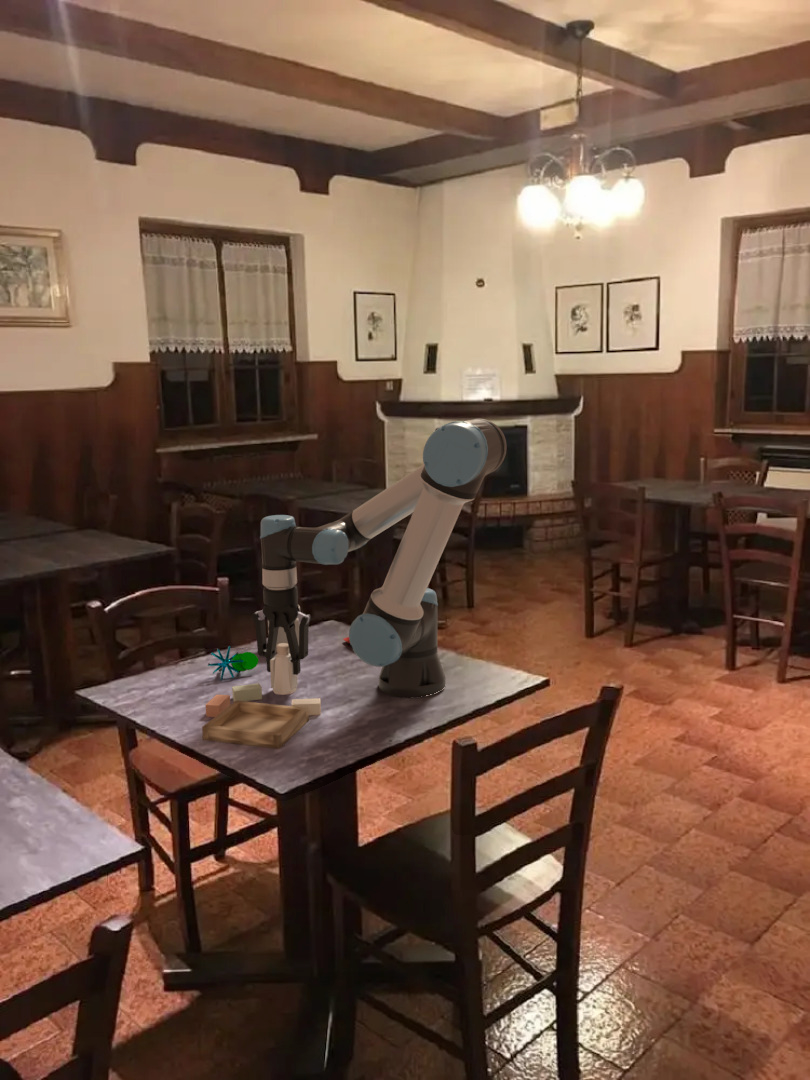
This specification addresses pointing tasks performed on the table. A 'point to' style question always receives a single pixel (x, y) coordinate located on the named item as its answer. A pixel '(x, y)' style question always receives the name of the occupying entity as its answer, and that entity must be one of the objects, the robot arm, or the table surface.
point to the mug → (282, 635)
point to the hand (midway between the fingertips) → (284, 686)
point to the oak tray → (256, 724)
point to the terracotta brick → (217, 705)
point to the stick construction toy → (235, 662)
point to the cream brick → (308, 705)
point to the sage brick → (247, 692)
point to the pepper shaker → (282, 670)
